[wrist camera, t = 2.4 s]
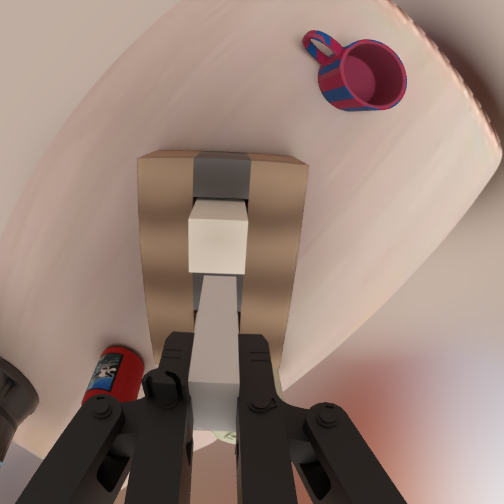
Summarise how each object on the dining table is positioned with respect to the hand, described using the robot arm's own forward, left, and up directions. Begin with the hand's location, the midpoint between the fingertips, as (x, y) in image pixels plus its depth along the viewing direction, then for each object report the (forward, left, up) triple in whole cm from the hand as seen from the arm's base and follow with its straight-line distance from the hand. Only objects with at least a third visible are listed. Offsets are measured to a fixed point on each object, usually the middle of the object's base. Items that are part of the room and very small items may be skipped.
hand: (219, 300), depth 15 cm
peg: (0, 0, -14) cm, 14 cm away
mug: (+11, +15, -19) cm, 27 cm away
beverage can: (-14, -24, -19) cm, 34 cm away
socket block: (0, -6, -19) cm, 20 cm away
